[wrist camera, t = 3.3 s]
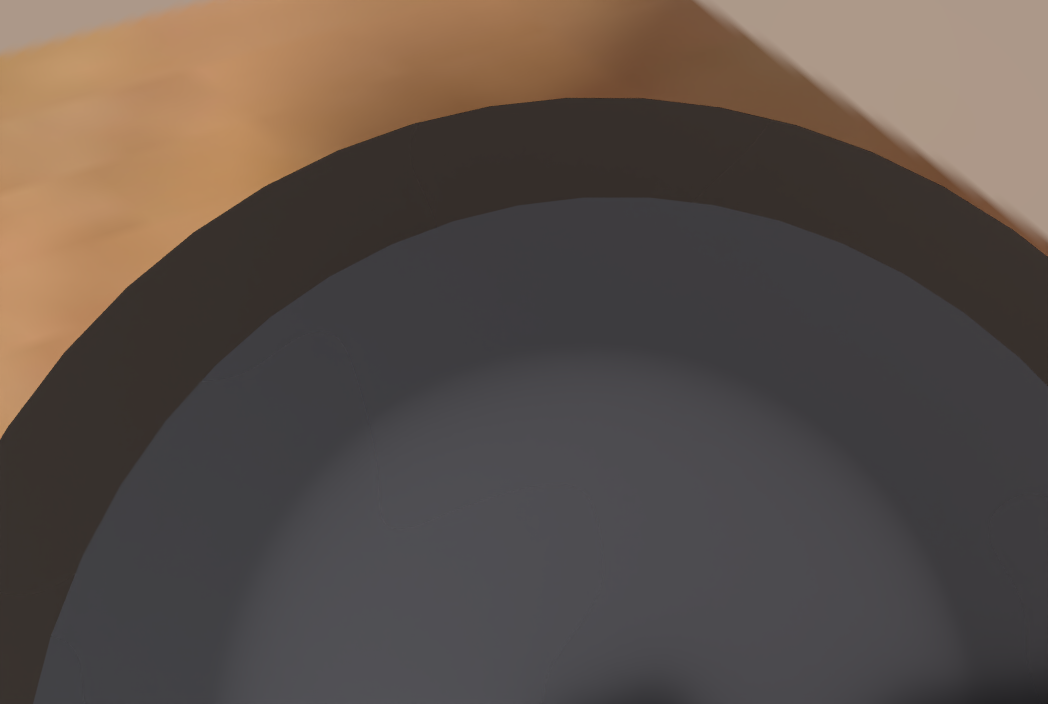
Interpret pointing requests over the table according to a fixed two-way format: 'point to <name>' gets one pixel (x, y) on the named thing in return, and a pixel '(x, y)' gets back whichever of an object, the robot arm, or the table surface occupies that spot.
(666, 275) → the lens
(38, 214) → the table surface
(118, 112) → the table surface
